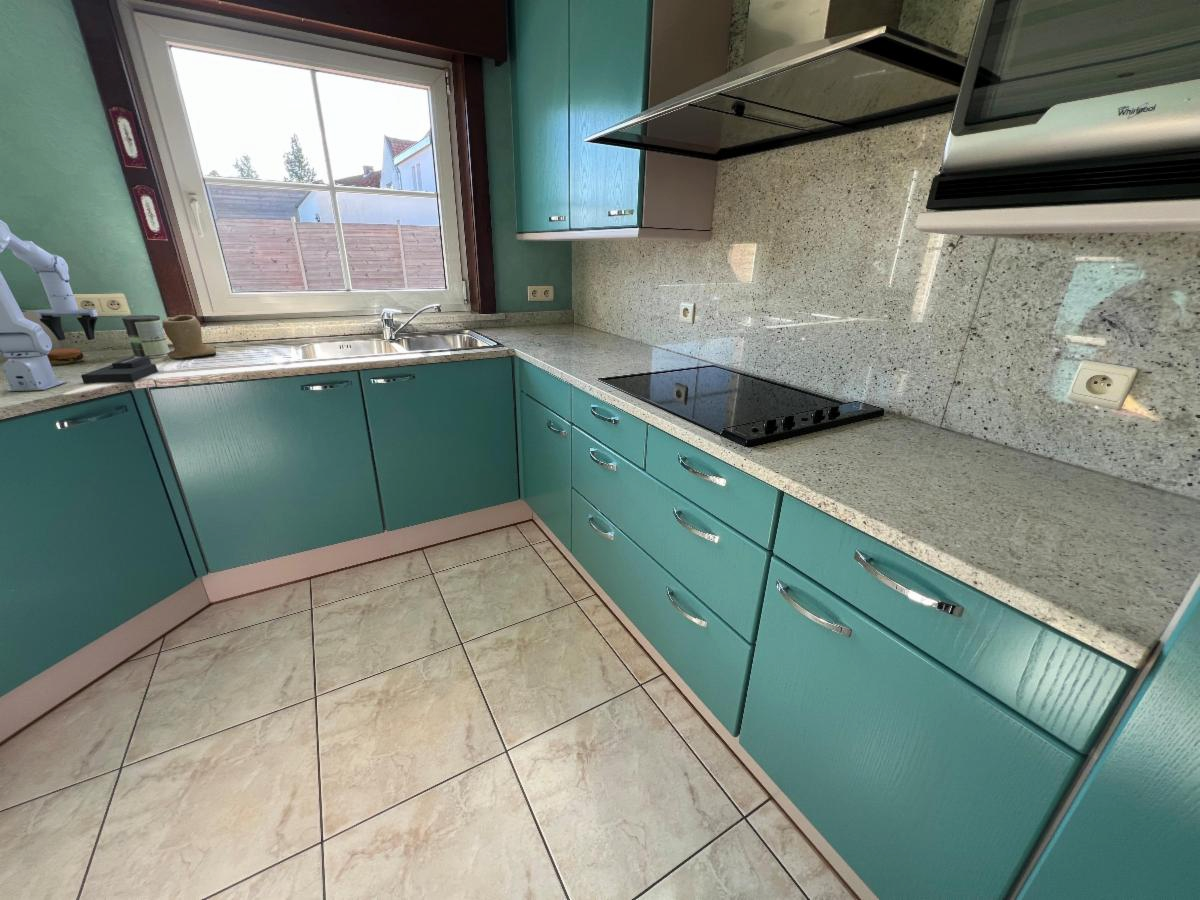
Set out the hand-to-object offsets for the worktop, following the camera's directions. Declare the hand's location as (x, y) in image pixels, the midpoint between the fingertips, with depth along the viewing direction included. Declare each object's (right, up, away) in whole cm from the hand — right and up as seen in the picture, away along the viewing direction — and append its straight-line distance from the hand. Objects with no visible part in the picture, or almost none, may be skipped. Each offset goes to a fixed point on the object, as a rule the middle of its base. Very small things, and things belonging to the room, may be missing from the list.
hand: (76, 339), depth 157 cm
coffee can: (+3, -1, +24) cm, 24 cm away
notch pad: (+20, -13, -5) cm, 25 cm away
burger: (-15, -6, +10) cm, 19 cm away
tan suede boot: (+19, -1, +24) cm, 30 cm away
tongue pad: (+18, -11, 0) cm, 21 cm away
